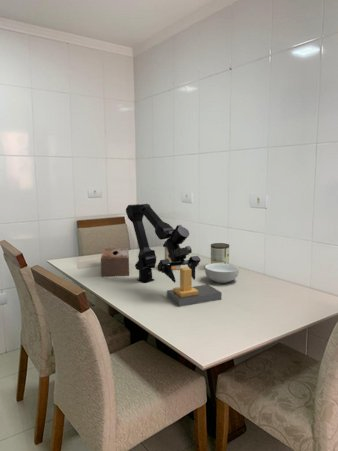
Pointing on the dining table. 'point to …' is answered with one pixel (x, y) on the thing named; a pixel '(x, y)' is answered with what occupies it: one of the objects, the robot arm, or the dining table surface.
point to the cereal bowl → (221, 272)
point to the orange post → (185, 284)
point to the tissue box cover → (115, 262)
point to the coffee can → (220, 253)
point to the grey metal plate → (196, 296)
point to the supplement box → (170, 260)
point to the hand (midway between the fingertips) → (184, 280)
